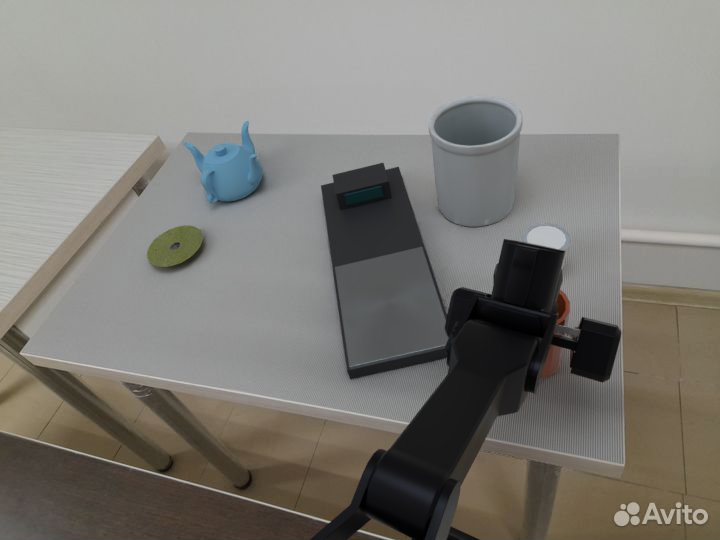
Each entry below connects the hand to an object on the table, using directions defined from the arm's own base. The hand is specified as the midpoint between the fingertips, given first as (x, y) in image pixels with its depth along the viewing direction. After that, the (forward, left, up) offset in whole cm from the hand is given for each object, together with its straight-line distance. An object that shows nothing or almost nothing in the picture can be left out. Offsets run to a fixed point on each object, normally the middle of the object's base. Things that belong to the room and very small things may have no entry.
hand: (538, 322), depth 68 cm
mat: (+40, +56, -8) cm, 69 cm away
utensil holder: (+34, -2, -8) cm, 35 cm away
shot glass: (+15, -7, -8) cm, 18 cm away
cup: (0, 0, -8) cm, 8 cm away
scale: (+25, +18, -8) cm, 32 cm away
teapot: (+58, +44, -8) cm, 73 cm away
